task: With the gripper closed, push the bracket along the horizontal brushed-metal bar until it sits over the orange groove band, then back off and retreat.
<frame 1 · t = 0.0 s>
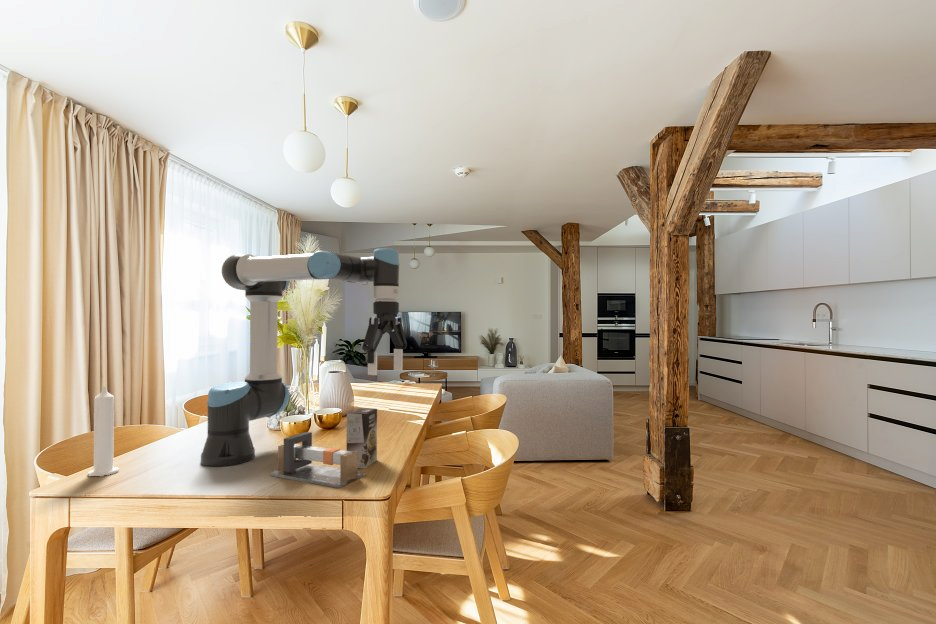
hand: (385, 372, 145), 28 cm above the table, fingers open, 13 cm apart
coffee box: (362, 464, 148), on the table
rail: (317, 475, 137), on the table
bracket: (298, 451, 140), point 6 cm above the table, slide at 4.0 cm
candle: (103, 473, 139), on the table
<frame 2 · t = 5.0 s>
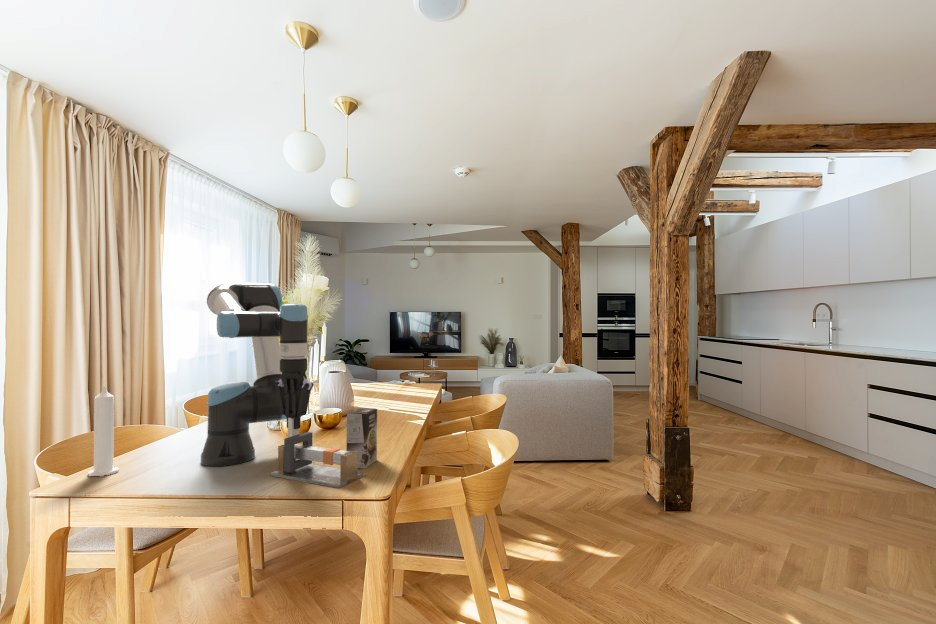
hand: (293, 440, 140), 9 cm above the table, fingers closed
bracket: (298, 451, 140), point 6 cm above the table, slide at 4.2 cm, touching gripper
everything else where it was.
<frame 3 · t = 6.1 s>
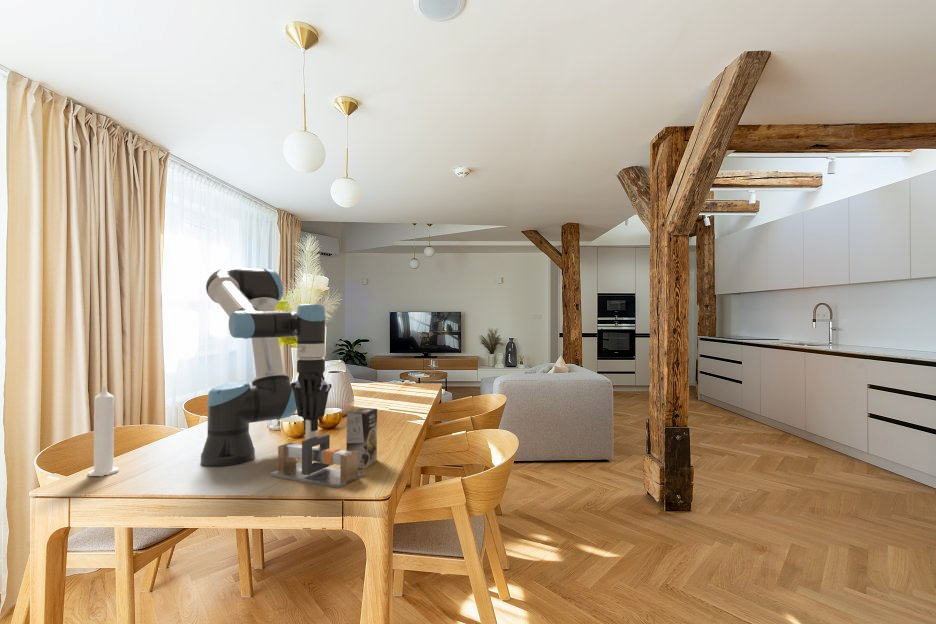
hand: (310, 442, 138), 9 cm above the table, fingers closed
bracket: (316, 453, 137), point 6 cm above the table, slide at 10.6 cm, touching gripper
everything else where it was.
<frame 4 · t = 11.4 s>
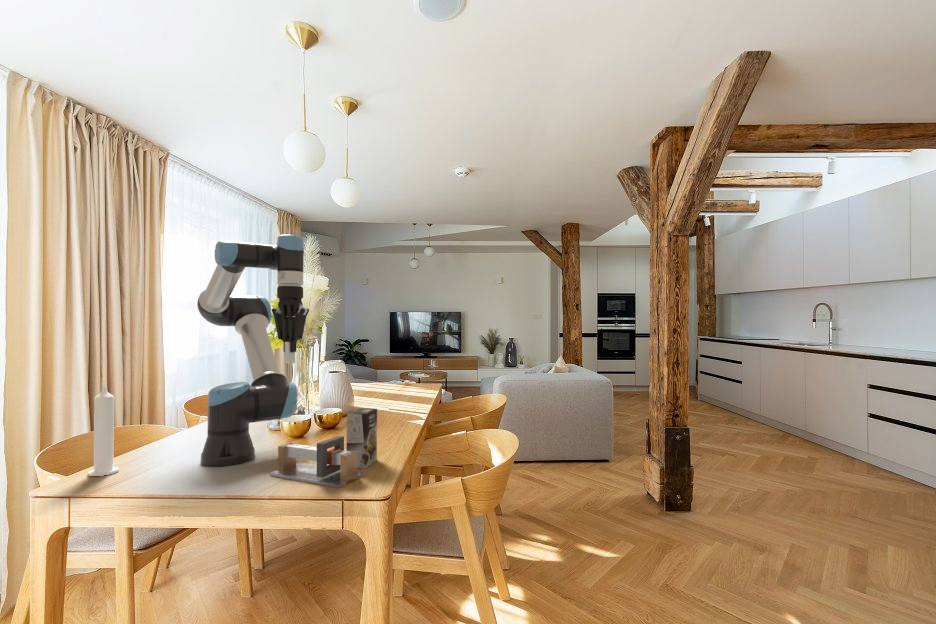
hand: (289, 363, 149), 30 cm above the table, fingers closed
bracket: (330, 456, 135), point 6 cm above the table, slide at 15.7 cm
everything else where it was.
at the end: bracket slide at 15.7 cm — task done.
